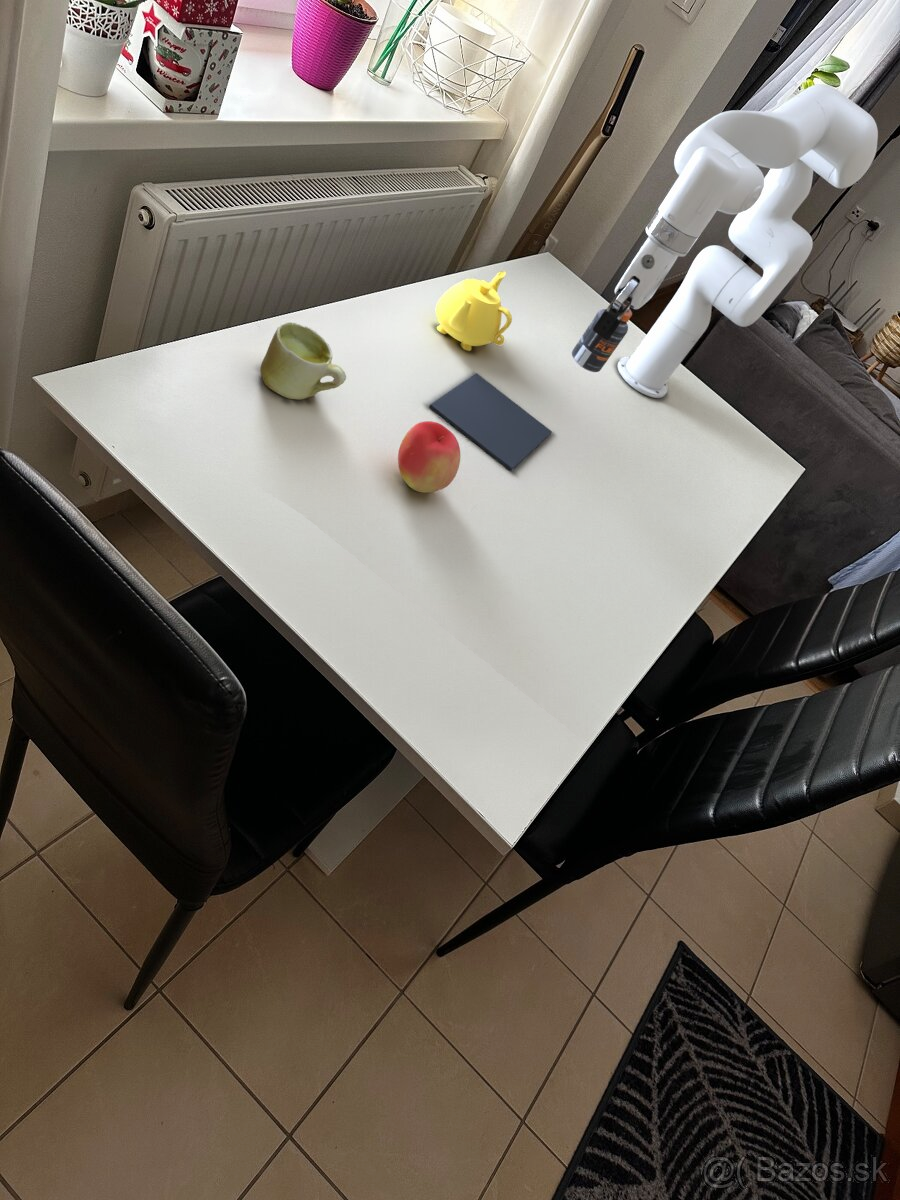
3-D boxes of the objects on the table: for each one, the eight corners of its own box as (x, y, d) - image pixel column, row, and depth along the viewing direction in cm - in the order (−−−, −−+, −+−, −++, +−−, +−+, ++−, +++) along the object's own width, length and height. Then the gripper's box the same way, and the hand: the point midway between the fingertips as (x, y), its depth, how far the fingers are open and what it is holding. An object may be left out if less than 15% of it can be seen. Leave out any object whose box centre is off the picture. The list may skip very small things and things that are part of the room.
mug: (236, 363, 128) (277, 314, 124) (268, 360, 138) (307, 314, 134) (292, 424, 129) (334, 378, 125) (320, 417, 138) (360, 373, 134)
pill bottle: (581, 372, 145) (618, 316, 137) (564, 349, 147) (600, 293, 140) (606, 374, 148) (643, 320, 140) (589, 351, 151) (625, 297, 143)
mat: (475, 375, 160) (476, 372, 160) (550, 433, 159) (552, 431, 159) (428, 406, 147) (430, 404, 147) (510, 471, 146) (512, 468, 146)
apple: (376, 481, 129) (402, 432, 122) (399, 451, 136) (425, 403, 129) (430, 515, 129) (459, 468, 123) (451, 484, 136) (479, 438, 130)
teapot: (476, 376, 160) (504, 326, 152) (411, 331, 160) (436, 278, 152) (511, 341, 175) (539, 294, 167) (452, 299, 175) (477, 250, 167)
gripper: (676, 259, 124) (608, 358, 137) (704, 237, 137) (639, 329, 149) (635, 228, 125) (571, 330, 137) (666, 209, 138) (605, 303, 150)
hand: (607, 328), depth 143 cm, fingers closed on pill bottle, 5 cm apart
